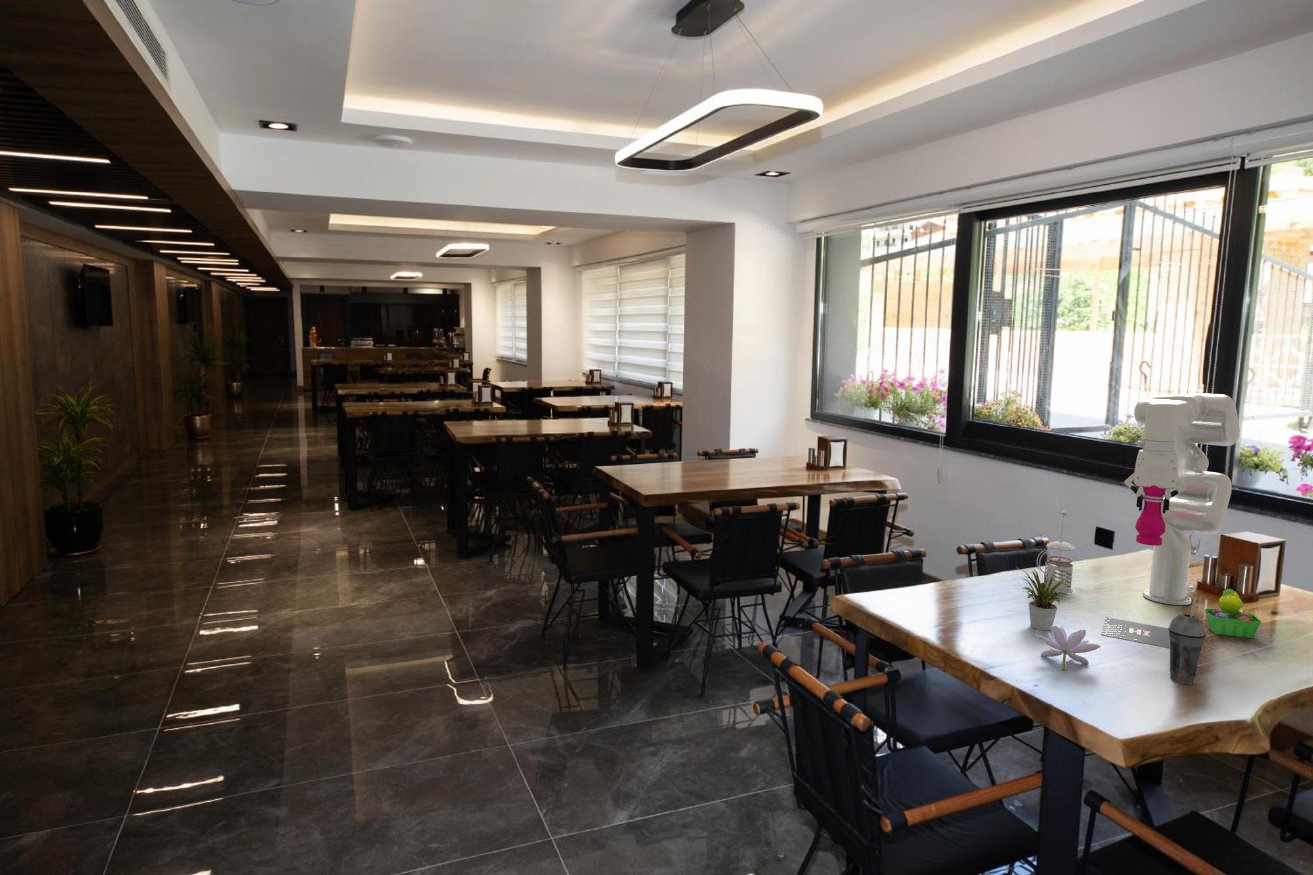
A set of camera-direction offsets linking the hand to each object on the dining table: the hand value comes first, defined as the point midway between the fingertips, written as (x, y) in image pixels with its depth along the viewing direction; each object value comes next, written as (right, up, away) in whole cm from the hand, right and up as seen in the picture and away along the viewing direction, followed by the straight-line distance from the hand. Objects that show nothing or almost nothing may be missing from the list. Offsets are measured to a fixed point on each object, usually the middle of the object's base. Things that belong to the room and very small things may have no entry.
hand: (1152, 510), depth 225 cm
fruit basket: (+18, -33, -6) cm, 38 cm away
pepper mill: (0, -9, +1) cm, 9 cm away
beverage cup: (-17, -36, -39) cm, 55 cm away
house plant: (-35, -31, -5) cm, 47 cm away
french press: (-13, -28, +30) cm, 42 cm away
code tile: (-8, -32, -8) cm, 34 cm away
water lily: (-39, -34, -31) cm, 61 cm away
